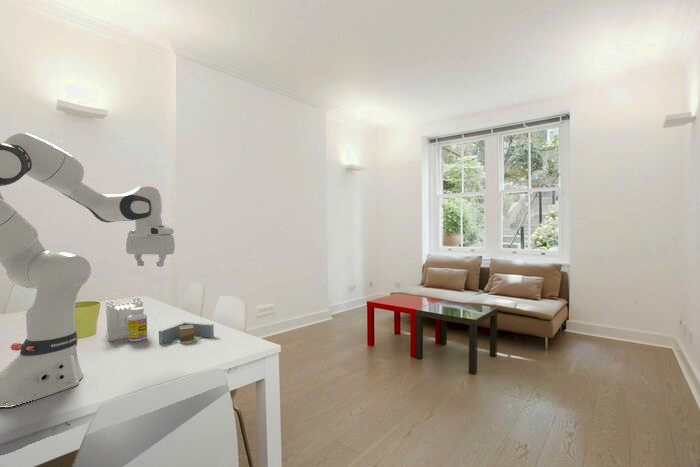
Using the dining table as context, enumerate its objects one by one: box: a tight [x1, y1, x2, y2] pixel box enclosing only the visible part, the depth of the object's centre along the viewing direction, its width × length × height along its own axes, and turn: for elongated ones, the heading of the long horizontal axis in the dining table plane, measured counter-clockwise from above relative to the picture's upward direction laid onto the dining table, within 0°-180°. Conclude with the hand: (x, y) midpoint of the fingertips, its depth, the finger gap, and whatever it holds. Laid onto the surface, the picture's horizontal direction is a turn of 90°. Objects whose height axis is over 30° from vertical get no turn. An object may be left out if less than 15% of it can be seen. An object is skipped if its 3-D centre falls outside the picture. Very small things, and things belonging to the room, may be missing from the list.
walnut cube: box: [179, 325, 194, 342], centre depth 145 cm, size 5×5×5 cm
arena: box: [158, 321, 215, 345], centre depth 145 cm, size 14×15×5 cm
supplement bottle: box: [128, 306, 148, 343], centre depth 146 cm, size 7×7×13 cm
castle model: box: [105, 296, 144, 342], centre depth 155 cm, size 13×15×14 cm
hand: (150, 266), depth 135 cm, fingers open, 8 cm apart
